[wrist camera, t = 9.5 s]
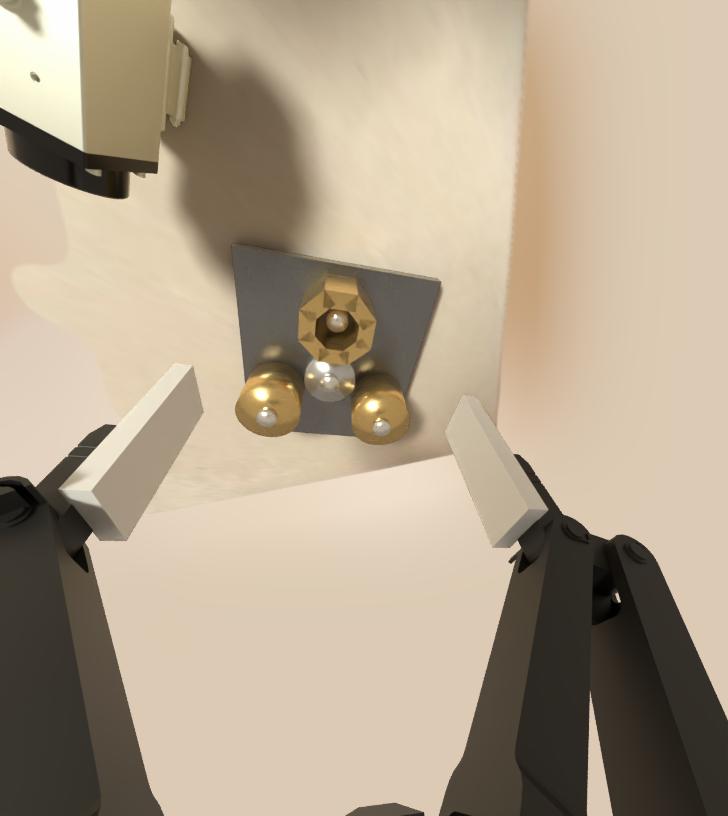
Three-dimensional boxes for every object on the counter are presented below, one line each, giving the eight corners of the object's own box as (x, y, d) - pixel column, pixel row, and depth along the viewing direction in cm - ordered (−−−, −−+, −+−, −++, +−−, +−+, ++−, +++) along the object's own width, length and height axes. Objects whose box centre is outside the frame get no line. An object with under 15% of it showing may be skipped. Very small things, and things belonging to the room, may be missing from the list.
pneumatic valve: (218, -37, 15) (30, -380, 6) (187, 197, 22) (69, 206, 12) (98, -137, 14) (-444, -858, 4) (101, 150, 20) (-117, 118, 10)
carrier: (235, 243, 24) (203, 260, 18) (437, 278, 26) (463, 302, 21) (252, 421, 36) (236, 464, 30) (389, 433, 38) (398, 474, 33)
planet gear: (306, 269, 24) (299, 285, 20) (374, 281, 25) (381, 298, 21) (303, 335, 28) (297, 359, 24) (363, 343, 29) (367, 367, 25)
